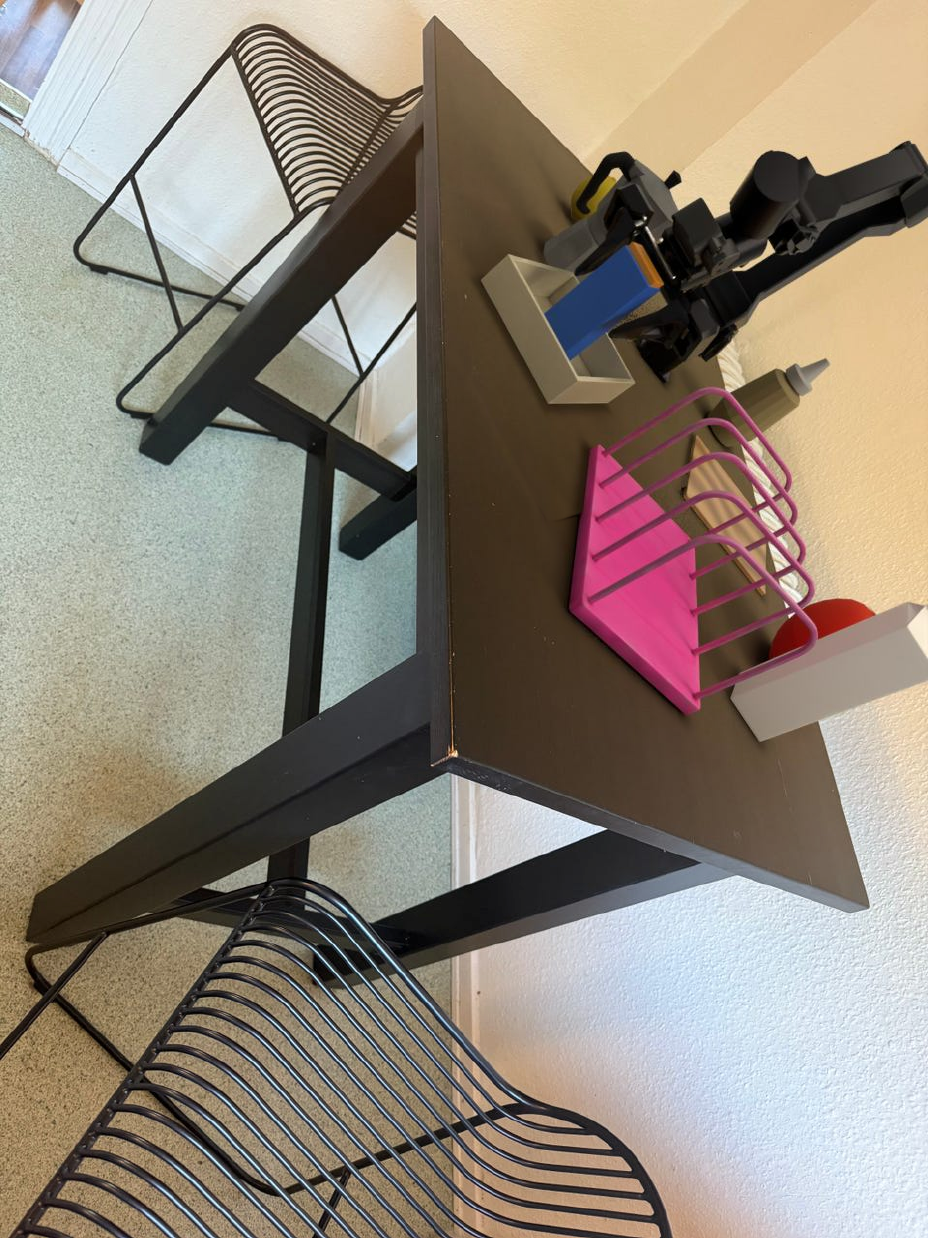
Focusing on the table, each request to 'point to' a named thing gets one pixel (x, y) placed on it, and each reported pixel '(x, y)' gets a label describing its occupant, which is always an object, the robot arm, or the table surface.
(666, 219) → the coffeepot
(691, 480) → the square wooden board
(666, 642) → the file sorter
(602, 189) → the lemon
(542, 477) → the table surface
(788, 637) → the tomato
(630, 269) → the orange-tipped blue bar
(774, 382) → the squeeze bottle
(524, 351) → the basin
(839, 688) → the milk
